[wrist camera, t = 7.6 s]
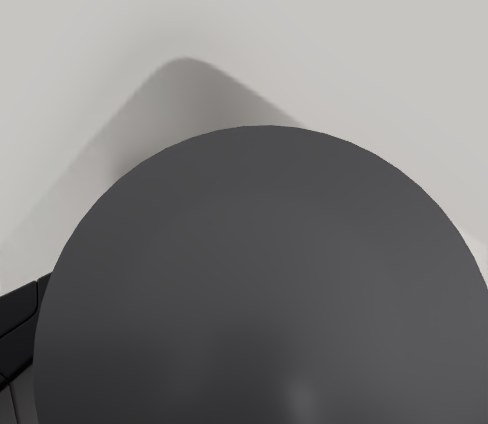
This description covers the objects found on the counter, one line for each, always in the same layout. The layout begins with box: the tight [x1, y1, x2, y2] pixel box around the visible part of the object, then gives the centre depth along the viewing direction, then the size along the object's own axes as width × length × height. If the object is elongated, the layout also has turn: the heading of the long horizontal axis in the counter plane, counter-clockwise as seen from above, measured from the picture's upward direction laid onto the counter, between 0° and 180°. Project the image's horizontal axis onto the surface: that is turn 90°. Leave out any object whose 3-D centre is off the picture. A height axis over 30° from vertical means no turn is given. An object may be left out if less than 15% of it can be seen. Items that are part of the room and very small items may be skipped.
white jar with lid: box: [33, 125, 488, 424], centre depth 10 cm, size 5×5×12 cm
